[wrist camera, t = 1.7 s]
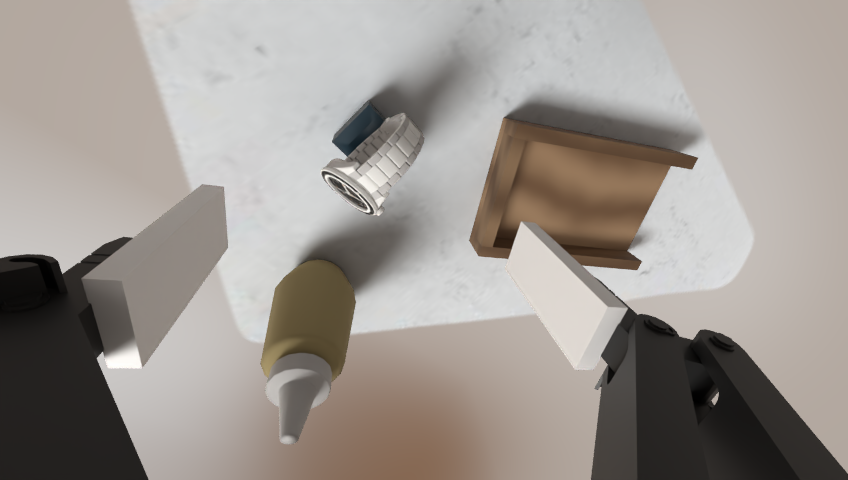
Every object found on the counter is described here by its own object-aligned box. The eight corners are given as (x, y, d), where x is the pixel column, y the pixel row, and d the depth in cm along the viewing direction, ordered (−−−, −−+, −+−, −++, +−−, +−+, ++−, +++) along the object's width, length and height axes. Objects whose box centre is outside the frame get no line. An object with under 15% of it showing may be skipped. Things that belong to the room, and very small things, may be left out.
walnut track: (503, 117, 33) (518, 123, 30) (670, 149, 37) (698, 157, 34) (469, 240, 38) (478, 256, 35) (617, 255, 43) (637, 270, 40)
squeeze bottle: (267, 262, 36) (193, 421, 20) (341, 240, 36) (326, 380, 20) (299, 318, 40) (258, 487, 24) (365, 298, 40) (368, 453, 24)
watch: (319, 149, 31) (301, 189, 22) (382, 85, 30) (393, 98, 20) (364, 190, 34) (365, 242, 24) (424, 134, 32) (451, 166, 23)
